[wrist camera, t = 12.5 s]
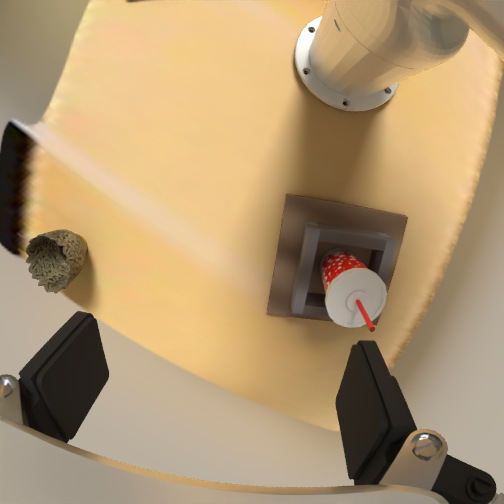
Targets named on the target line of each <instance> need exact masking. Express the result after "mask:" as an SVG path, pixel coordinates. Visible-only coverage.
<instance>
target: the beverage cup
mask: <svg viewBox="0 0 504 504" xmlns="http://www.w3.org/2000/svg"><path fill="white" fill-rule="evenodd" d="M320 272H321V276H322V280H323V284H324V289H325V293H326V297H325V305H326V308H327V311H328V314H329V317H330V318H331V319H332V320H333V321H334V322H335V323H336V324H339V325H341V326H344V327H346V328H354V327H360V326H363V325H366V324H367V326H368V328H369V330H370V331H371V332H373V331H374V330H375V327H374V325H373V323H372V322H371V321H373V320H374V319H375V318H376V317H378V316H379V314H380V313H381V311H382V310H383V308H384V307H385V303H386V299H387V291H386V286H385V284H384V282H383V281H382V280H381V278H380V277H379V276H378V275H377V274H376V273H375V272H373V271H371V270H369V269H368V268H367V267H366V266H365V265H364V264H363V263H362V262H361V261H360V260H359V259H358V258H357V257H356V256H355V255H354V254H353V253H352V252H351V251H349V250H347V249H345V248H335V249H332V250H329V251H328V252H327V253H326V254H325V255H324V256H323V258H322V260H321V262H320Z"/></svg>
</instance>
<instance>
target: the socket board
mask: <svg viewBox="0 0 504 504" xmlns="http://www.w3.org/2000/svg"><path fill="white" fill-rule="evenodd" d="M407 219H408V217H407V216H405V215H401V214H396V213H391V212H386V211H381V210H376V209H371V208H366V207H361V206H355V205H350V204H345V203H339V202H333V201H328V200H322V199H316V198H310V197H303V196H297V195H291V194H286V200H285V206H284V212H283V219H282V225H281V231H280V238H279V244H278V250H277V256H276V262H275V268H274V274H273V280H272V286H271V291H270V297H269V303H268V309H267V314H273V315H281V316H289V317H298V318H306V319H315V320H325V321H333V320H332V319H331V318H330V317H329V314H328V311H327V308H326V305H325V297H326V293H325V289H324V284H323V280H322V276H321V272H320V262H321V260H322V258H323V256H324V255H325V254H326V253H327V252H328V251H329V250H332V249H335V248H345V249H347V250H349V251H351V252H352V253H353V254H354V255H355V256H356V257H357V258H358V259H359V260H360V261H361V262H362V263H363V264H364V265H365V266H366V267H367V268H368V269H369V270H371V271H373V272H375V273H376V274H377V275H378V276H379V277H380V278H381V280H382V281H383V282H384V284H385V286H386V291H387V293H388V289H389V286H390V283H391V279H392V276H393V273H394V269H395V266H396V262H397V259H398V255H399V251H400V247H401V243H402V240H403V236H404V231H405V227H406V223H407ZM380 314H381V313H380ZM380 314H379V316H378V317H376V318H375V319H374V320H373V321H371V322H372V323H373V325H377V323H378V320H379V317H380Z"/></svg>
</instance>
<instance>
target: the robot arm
mask: <svg viewBox="0 0 504 504" xmlns="http://www.w3.org/2000/svg"><path fill="white" fill-rule="evenodd" d="M470 28H471V29H472V30H473V31H474V32H475V33H476V34H477V35H478V36H479V37H480V38H481V39H482V40H483V41H484V42H485V43H486V44H487V45H488V46H489V47H491V48H492V49H493V50H494V51H495V52H496V53H497V54H498V55H499V56H500V58H501V59H502V60H503V61H504V0H329V1H328V3H327V6H326V8H325V10H324V13H323V15H322V16H320V17H318V18H316V19H314V20H313V21H311V22H310V23H309V24H307V25H306V27H305V28H304V29H303V30H302V31H301V33H300V35H299V37H298V39H297V42H296V46H295V54H294V56H295V65H296V68H297V71H298V74H299V76H300V78H301V80H302V82H303V83H304V84H305V86H306V87H307V88H308V90H309V91H310V92H311V93H312V94H314V95H315V96H316V97H317V98H318V99H320V100H321V101H323V102H324V103H326V104H328V105H330V106H332V107H334V108H337V109H341V110H345V111H354V112H358V111H367V110H370V109H374V108H376V107H378V106H381V105H382V104H384V103H385V102H387V101H388V100H389V99H390V98H391V97H392V96H393V95H394V93H395V91H396V89H397V88H398V86H399V82H400V81H402V80H405V79H407V78H409V77H411V76H414V75H416V74H418V73H421V72H423V71H425V70H428V69H430V68H433V67H435V66H437V65H439V64H442V63H444V62H446V61H448V60H449V59H451V58H452V57H454V56H455V55H456V54H457V53H458V52H459V51H460V50H461V48H462V47H463V45H464V43H465V41H466V39H467V36H468V33H469V29H470ZM309 31H312V32H313V33H310V32H309ZM305 71H306V72H307V73H308V74H307V75H305V74H304V72H305ZM385 90H386V91H387V94H386V93H385ZM343 102H346V106H344V105H343ZM19 375H20V377H21V378H20V379H19V380H17V379H16V377H14V376H12V375H8V374H7V375H0V504H504V494H503V493H500V494H499V495H498V494H497V493H496V483H495V481H494V479H493V478H492V476H491V475H489V474H488V473H486V472H484V471H482V470H480V469H477V468H475V467H473V466H471V465H468V464H467V463H464V462H462V461H460V460H458V459H456V458H454V457H452V456H450V455H448V454H447V450H448V447H447V443H446V441H445V439H444V438H443V437H442V436H441V435H440V434H439V433H437V432H435V431H433V430H429V429H420V430H417V427H416V425H415V423H414V420H413V418H412V415H411V413H410V410H409V408H408V405H407V403H406V401H405V399H404V396H403V394H402V392H401V389H400V387H399V385H398V382H397V380H396V378H395V377H394V376H391V375H390V373H389V371H388V368H387V366H386V364H385V361H384V359H383V357H382V355H381V353H380V350H379V348H378V346H377V344H376V342H375V341H358V343H357V345H353V346H352V349H351V352H350V356H349V359H348V362H347V366H346V369H345V372H344V375H343V379H342V382H341V385H340V388H339V391H338V394H337V397H336V410H337V415H338V420H339V425H340V431H341V436H342V442H343V447H344V453H345V458H346V465H347V470H348V476H349V479H354V485H355V486H337V487H264V486H249V485H238V484H228V483H220V482H212V481H205V480H199V479H192V478H186V477H181V476H176V475H171V474H166V473H162V472H157V471H153V470H149V469H145V468H140V467H137V466H133V465H129V464H126V463H122V462H119V461H116V460H112V459H109V458H106V457H103V456H100V455H97V454H94V453H91V452H88V451H85V450H83V449H80V448H77V447H74V446H72V445H69V444H67V443H68V441H69V439H70V440H71V439H73V438H74V436H75V435H76V433H77V431H78V429H79V427H80V426H81V424H82V422H83V421H84V419H85V417H86V415H87V414H88V412H89V410H90V409H91V407H92V405H93V404H94V402H95V400H96V399H97V397H98V395H99V394H100V392H101V390H102V389H103V387H104V385H105V384H106V382H107V380H108V378H109V370H108V366H107V363H106V359H105V354H104V351H103V346H102V342H101V338H100V333H99V329H98V324H97V320H96V319H95V318H94V317H93V315H92V314H91V313H86V312H81V311H78V312H76V313H75V314H74V315H73V316H72V317H71V318H70V319H69V320H68V321H67V322H66V323H65V324H64V325H63V326H62V327H61V328H60V329H59V330H58V331H57V332H56V333H55V334H54V335H53V336H52V337H51V338H50V340H49V341H48V342H47V343H46V344H45V345H44V346H43V347H42V348H41V349H40V350H39V351H38V352H37V353H36V354H35V356H34V357H33V358H32V359H31V360H30V361H29V362H28V363H27V364H26V366H25V367H24V368H23V369H22V370H21V371H20V372H19Z"/></svg>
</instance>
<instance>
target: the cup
mask: <svg viewBox="0 0 504 504" xmlns="http://www.w3.org/2000/svg"><path fill="white" fill-rule="evenodd" d="M29 242H30V244H29V245H28V246H27V248H26V250H25V252H26V253H27V254H28V256H29V257H28V258H27V259H26V263H31V265H30V267H29V272H30V273H32V278H34V279H37V280H38V279H40V281H39V284H38V286H42V285H44V287H45V290H46V291H47V292H54V293H58V292H59V291H60V290H61V289H65V288H66V287H67V286H68V284H69V283H70V282H71V281H72V280H73V279H74V278H75V277H76V276H77V274H78V273H79V272H80V271H81V269H82V267H83V265H84V262H85V254H86V251H87V245H86V242H85V240H84V238H83V237H82V236H80V235H78V234H75V233H73V232H71V231H68V230H55V231H51V232H48V233H44V234H41V235H38V236H37V237H36V238H33V239H31V240H30V241H29Z"/></svg>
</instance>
